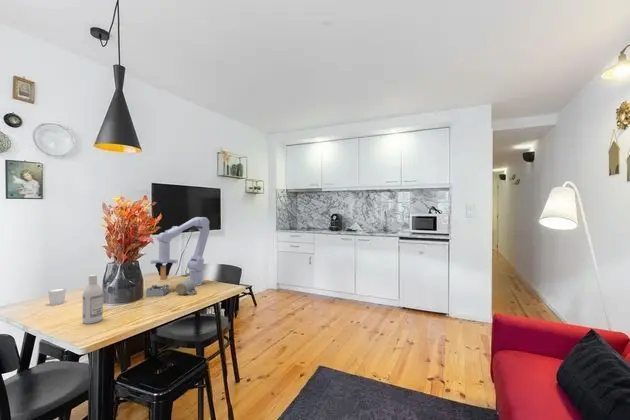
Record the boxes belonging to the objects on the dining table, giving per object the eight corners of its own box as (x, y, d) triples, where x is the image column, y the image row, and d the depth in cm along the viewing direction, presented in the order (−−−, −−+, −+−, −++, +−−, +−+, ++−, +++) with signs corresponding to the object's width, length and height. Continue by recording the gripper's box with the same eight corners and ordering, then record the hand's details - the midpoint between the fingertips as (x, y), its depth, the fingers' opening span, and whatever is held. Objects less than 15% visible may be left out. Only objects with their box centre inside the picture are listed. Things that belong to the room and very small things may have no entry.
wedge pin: (161, 278, 175) (162, 265, 175) (168, 278, 176) (168, 265, 176) (159, 280, 172) (159, 266, 172) (165, 280, 172) (166, 266, 172)
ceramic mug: (174, 295, 165) (174, 281, 165) (183, 291, 173) (183, 278, 173) (191, 296, 163) (191, 283, 163) (199, 292, 171) (199, 279, 171)
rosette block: (152, 291, 172) (152, 285, 172) (168, 291, 173) (169, 284, 173) (146, 296, 163) (146, 289, 163) (163, 295, 164) (163, 288, 164)
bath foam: (106, 317, 131) (106, 273, 131) (96, 323, 124) (96, 276, 124) (89, 318, 130) (89, 273, 130) (78, 324, 123) (78, 277, 123)
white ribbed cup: (49, 306, 145) (50, 292, 145) (46, 303, 150) (46, 290, 150) (67, 303, 151) (67, 289, 151) (63, 300, 155) (64, 287, 155)
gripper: (148, 253, 169) (148, 277, 169) (174, 253, 170) (174, 276, 170) (153, 252, 176) (153, 274, 176) (178, 251, 177) (178, 274, 177)
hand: (164, 275), depth 173 cm, fingers closed on wedge pin, 3 cm apart
